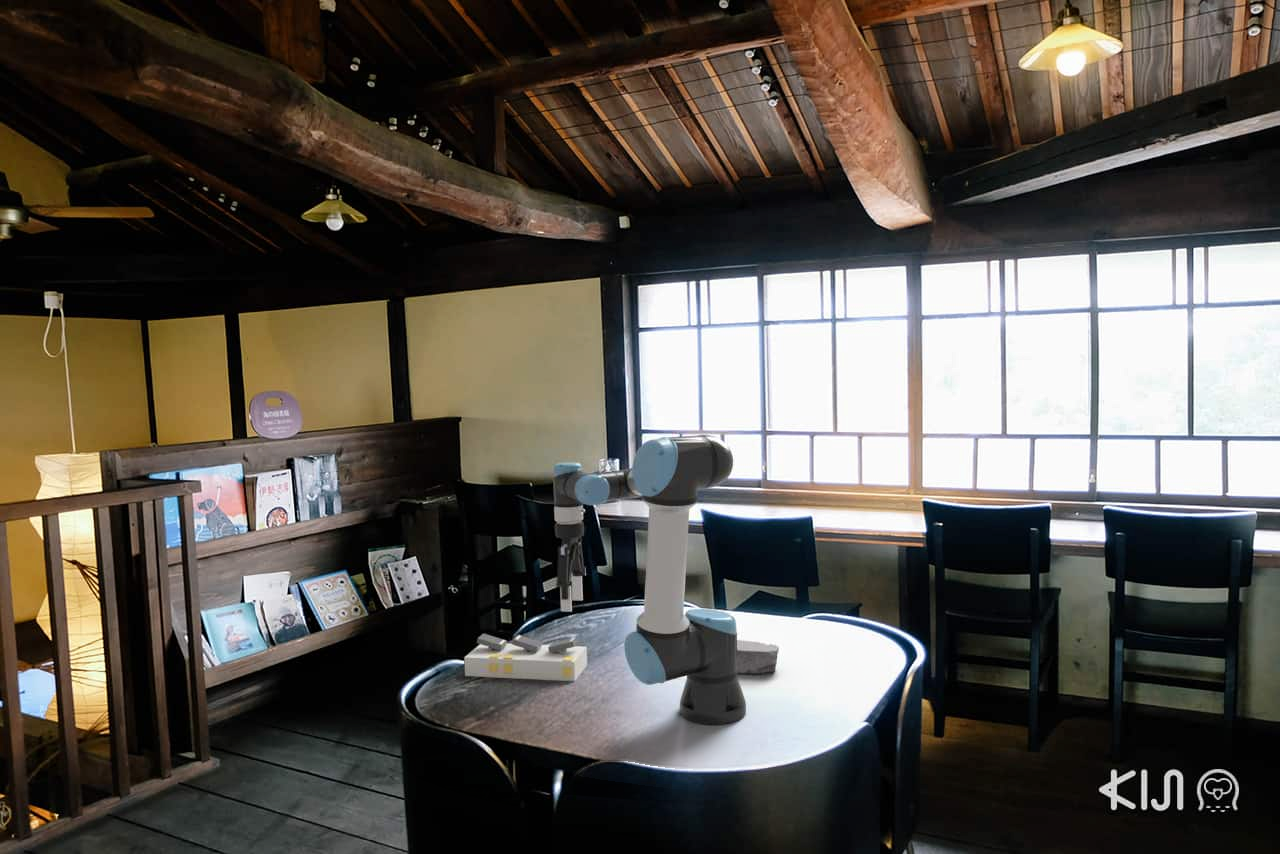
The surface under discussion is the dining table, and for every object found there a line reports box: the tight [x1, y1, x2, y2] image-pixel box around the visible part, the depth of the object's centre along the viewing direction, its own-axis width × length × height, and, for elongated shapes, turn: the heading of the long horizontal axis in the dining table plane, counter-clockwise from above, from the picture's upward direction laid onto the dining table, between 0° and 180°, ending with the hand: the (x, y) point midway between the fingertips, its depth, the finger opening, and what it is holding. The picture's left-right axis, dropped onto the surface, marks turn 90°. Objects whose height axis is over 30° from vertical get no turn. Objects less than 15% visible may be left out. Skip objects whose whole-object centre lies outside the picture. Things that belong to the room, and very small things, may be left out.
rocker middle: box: [511, 634, 543, 652], centre depth 217 cm, size 4×7×2 cm, turn 78°
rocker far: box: [476, 633, 508, 651], centre depth 219 cm, size 4×7×2 cm, turn 78°
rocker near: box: [548, 636, 579, 653], centre depth 215 cm, size 4×7×2 cm, turn 78°
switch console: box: [463, 643, 588, 682], centre depth 216 cm, size 12×30×6 cm, turn 78°
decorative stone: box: [737, 639, 780, 676], centre depth 212 cm, size 15×7×10 cm
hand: (572, 605), depth 214 cm, fingers open, 10 cm apart
